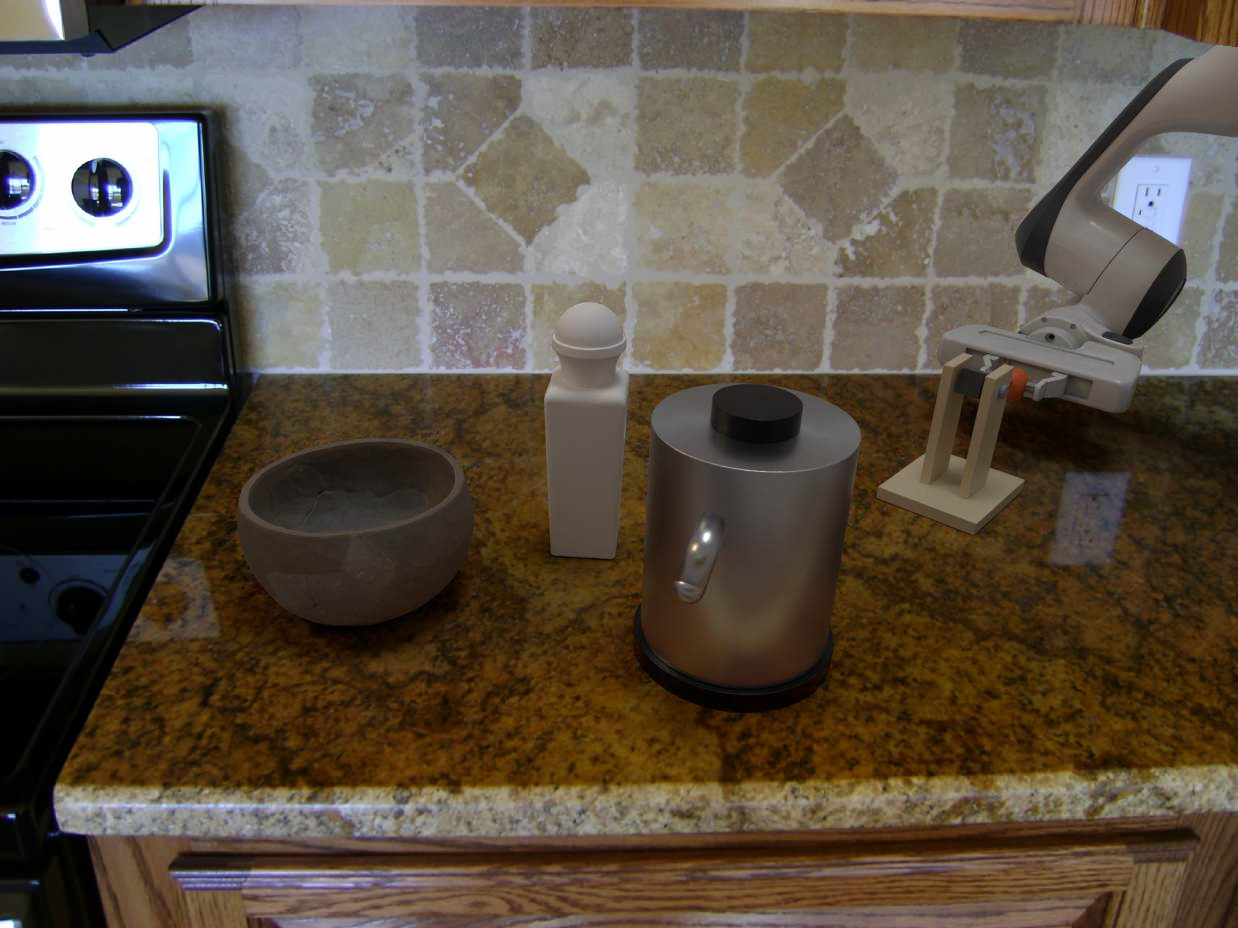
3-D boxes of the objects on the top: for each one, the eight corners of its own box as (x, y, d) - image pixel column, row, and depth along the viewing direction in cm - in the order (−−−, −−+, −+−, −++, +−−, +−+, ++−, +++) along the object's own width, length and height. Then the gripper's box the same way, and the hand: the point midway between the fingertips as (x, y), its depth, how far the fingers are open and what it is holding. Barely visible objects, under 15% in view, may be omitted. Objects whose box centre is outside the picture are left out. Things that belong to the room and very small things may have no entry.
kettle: (779, 776, 59) (821, 501, 50) (574, 698, 65) (577, 439, 56) (862, 600, 77) (904, 371, 67) (693, 551, 82) (711, 334, 73)
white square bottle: (619, 563, 80) (629, 319, 70) (544, 559, 81) (542, 314, 70) (624, 524, 86) (633, 293, 76) (553, 520, 86) (553, 289, 76)
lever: (993, 395, 99) (1004, 362, 98) (1027, 405, 97) (1038, 372, 96) (945, 396, 88) (957, 359, 87) (982, 407, 86) (995, 369, 85)
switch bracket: (929, 458, 100) (955, 336, 94) (1022, 490, 94) (1056, 363, 88) (876, 497, 92) (900, 367, 86) (973, 535, 86) (1007, 399, 80)
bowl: (290, 529, 84) (274, 428, 79) (488, 533, 84) (484, 433, 79) (218, 654, 68) (193, 538, 64) (462, 658, 69) (455, 543, 64)
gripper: (972, 303, 109) (918, 332, 100) (1160, 348, 97) (1119, 384, 88) (961, 354, 112) (908, 386, 103) (1143, 403, 100) (1102, 444, 91)
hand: (1007, 385), depth 96 cm, fingers closed on lever, 3 cm apart
